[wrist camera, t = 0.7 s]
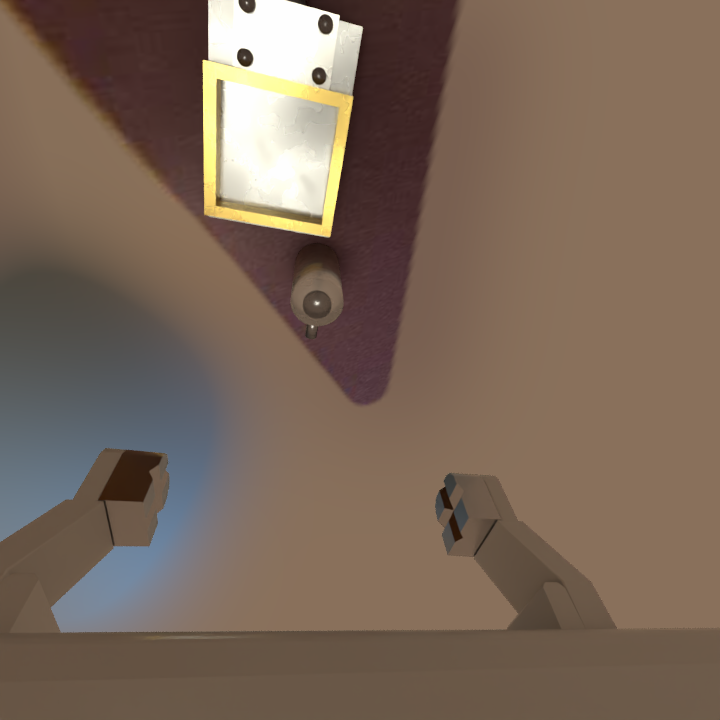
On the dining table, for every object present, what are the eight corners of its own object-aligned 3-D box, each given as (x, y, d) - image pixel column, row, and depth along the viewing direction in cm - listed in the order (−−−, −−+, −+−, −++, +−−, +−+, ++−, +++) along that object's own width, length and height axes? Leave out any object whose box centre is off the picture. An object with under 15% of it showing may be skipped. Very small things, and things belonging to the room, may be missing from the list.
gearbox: (219, -75, 32) (201, -102, 27) (368, -30, 34) (377, -47, 29) (217, 205, 43) (204, 222, 39) (327, 225, 46) (328, 244, 41)
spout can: (298, 239, 46) (293, 277, 38) (342, 247, 47) (348, 286, 39) (290, 297, 50) (285, 343, 42) (332, 303, 51) (335, 349, 43)
